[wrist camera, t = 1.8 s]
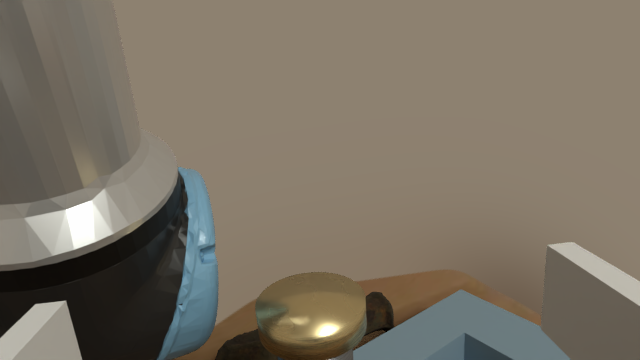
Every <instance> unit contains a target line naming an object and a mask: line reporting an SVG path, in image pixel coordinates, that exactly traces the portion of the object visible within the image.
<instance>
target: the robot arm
mask: <svg viewBox="0 0 640 360" xmlns="http://www.w3.org/2000/svg"><path fill="white" fill-rule="evenodd" d="M214 252H215V229H214V221H213V215H212V209H211V204H210V199H209V195H208V192H207V189H206V186H205V183H204V180H203V178H202V176H201V175H200V174H199V173H198V172H197V171H196V170H193V169H185V168H181V167H178V166H177V160H176V157H175V154H174V153H173V151H172V150H171V148H170V147H169V146H168V145H167V143H166V142H164V141H163V140H162V139H160V138H159V137H158V136H156V135H154V134H152V133H150V132H148V131H146V130H144V129H142V128H140V127H139V122H138V117H137V113H136V108H135V103H134V99H133V94H132V90H131V85H130V80H129V76H128V71H127V66H126V61H125V57H124V52H123V47H122V42H121V38H120V33H119V28H118V24H117V19H116V14H115V10H114V5H113V0H0V360H172V359H174V358H177V357H180V356H183V355H186V354H188V353H191V352H193V351H195V350H197V349H199V348H200V347H201V346H202V345H203V344H204V343H205V342H206V341H207V340H208V338H209V337H210V335H211V333H212V331H213V328H214V325H215V321H216V316H217V307H218V265H217V260H216V256H215V253H214ZM544 280H545V281H544V292H543V293H544V294H543V305H542V318H541V330H542V331H543V332H544V333H545V334H546V335H547V336H548V337H549V338H550V339H551V340H552V341H553V342H554V343H555V344H556V345H557V346H558V347H559V348H560V349H561V350H562V351H563V352H564V353H565V354H566V355H567V356H568V357H569V358H570V359H571V360H640V281H638V280H636V279H634V278H633V277H631V276H629V275H628V274H626V273H624V272H623V271H621V270H619V269H617V268H616V267H614V266H613V265H611V264H609V263H607V262H606V261H604V260H602V259H601V258H599V257H597V256H596V255H594V254H592V253H591V252H589V251H587V250H586V249H584V248H582V247H580V246H579V245H577V244H575V243H574V242H569V243H560V244H552V245H547V253H546V266H545V279H544Z"/></svg>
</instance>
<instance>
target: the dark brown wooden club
mask: <svg viewBox="0 0 640 360" xmlns="http://www.w3.org/2000/svg"><path fill="white" fill-rule="evenodd" d="M365 298H366V318H367V328H366V332H365V334H364V335H367V334H369V333H371V332H373V331H376V330H379V329H385V330H387V331H389V330H391V329H393V328H394V325H393V317H394V316H393V309H392V306H391V304H390V302H389V301H388V300H387V299H386V297H384V296H383V294H382V293H380V292H371V293H370V294H369V295H367V296H366V297H365ZM215 360H278V356H275V355H274V354H272V353H271V352H269V351H268V350H267V349H266V348H265V347H264V346H263V345H262V343H261V341H260V338H259V332H258V329H256V330H254V331H251V332H248V333H244V334H242V335H238V336H236V337H234V338H233V339H231V340H227V341H226V342H225V343H224V344H223V346H222V347H221V348H220V349H219V350H218V353H217V356H216V359H215Z"/></svg>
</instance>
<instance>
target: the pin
mask: <svg viewBox="0 0 640 360" xmlns="http://www.w3.org/2000/svg"><path fill="white" fill-rule="evenodd" d="M255 307H256V317H257V324H258V332H259V338H260V341H261V343H262V345H263V346H264V347H265V348H266V349H267V350H268V351H269V352H271V353H272V354H274V355H275V356H278V360H353V348H354V347H355V346H356V345H357V344H358V343H359V342H360V341H361V339H362V338H363V336H364V334H365V332H366V328H367V318H366V298H365V293H364V291H363V289H362V288H361V287H360V285H358V284H357V283H356V282H355V281H353V280H351V279H349V278H347V277H345V276H341V275H338V274H333V273H326V272H311V273H302V274H297V275H293V276H289V277H286V278H284V279H281V280H279V281H277V282H275V283H273V284H272V285H270V286H269V287H267V288H266V289H265V290H264V291H263V292H262V293H261V294H260V296H259V297H258V299H257V301H256V306H255Z"/></svg>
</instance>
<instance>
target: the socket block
mask: <svg viewBox="0 0 640 360" xmlns="http://www.w3.org/2000/svg"><path fill="white" fill-rule="evenodd" d="M353 360H571V359H570V358H569V357H568V356H567V355H566V354H565V353H564V352H563V351H562V350H561V349H560V348H559V347H558V346H557V345H556V344H555V343H554V342H553V341H552V340H551V339H550V338H549V337H548V336H547V335H546V334H545V333H544V332H543V331H542V330H541V326H538V325H536V324H534V323H532V322H530V321H528V320H525V319H523V318H521V317H519V316H517V315H515V314H513V313H510V312H508V311H506V310H504V309H502V308H500V307H498V306H495V305H493V304H491V303H489V302H487V301H485V300H482V299H480V298H478V297H476V296H474V295H472V294H470V293H467V292H465V291H463V290H459V291H457V292H456V293H454V294H452V295H450V296H449V297H447V298H445V299H443V300H442V301H440V302H438V303H436V304H435V305H433V306H431V307H429V308H428V309H426V310H424V311H422V312H421V313H419V314H417V315H415V316H414V317H412V318H410V319H408V320H407V321H405V322H403V323H401V324H400V325H398V326H396V327H394V328H393V329H391V330H389V331H387V332H386V333H384V334H382V335H380V336H379V337H377V338H375V339H373V340H372V341H370V342H368V343H366V344H365V345H363V346H361V347H359V348H358V349H356V350H354V351H353Z"/></svg>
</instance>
